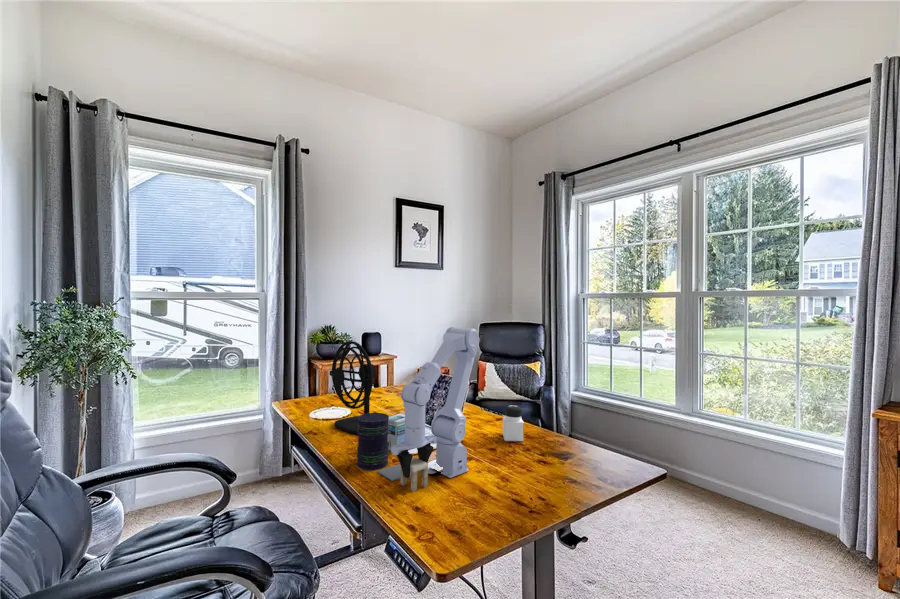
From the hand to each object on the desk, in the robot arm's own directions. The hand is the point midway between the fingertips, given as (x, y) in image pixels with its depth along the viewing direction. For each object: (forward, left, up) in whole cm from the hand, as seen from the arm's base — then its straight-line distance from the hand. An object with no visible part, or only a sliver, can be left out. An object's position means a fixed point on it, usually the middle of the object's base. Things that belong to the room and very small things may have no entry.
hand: (414, 473), depth 115 cm
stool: (0, 0, -3) cm, 3 cm away
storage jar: (+20, +1, -3) cm, 21 cm away
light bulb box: (+27, -14, -3) cm, 31 cm away
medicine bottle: (+7, -52, -3) cm, 53 cm away
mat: (+10, 0, -3) cm, 11 cm away
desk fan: (+56, -13, -3) cm, 58 cm away
